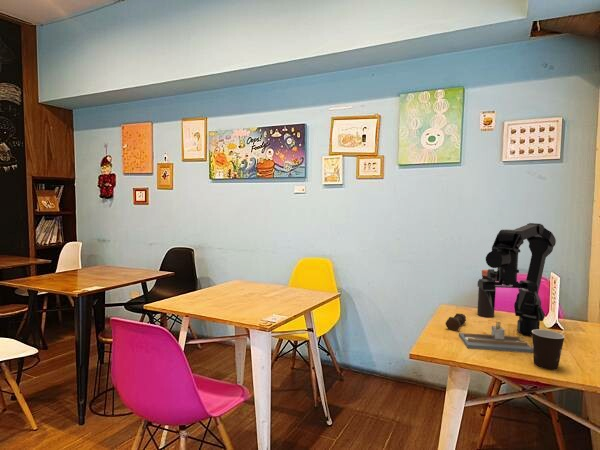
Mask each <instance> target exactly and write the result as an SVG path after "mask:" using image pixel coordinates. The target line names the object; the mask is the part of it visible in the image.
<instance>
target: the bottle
mask: <svg viewBox="0 0 600 450" xmlns="http://www.w3.org/2000/svg"><path fill="white" fill-rule="evenodd" d="M488 270H489V269H482V270H481V279H490V280H492V281H493V278H488V276H487V272H488ZM496 288H497V287H495V288H494V289H493V290H494V291H496V290H497V289H496ZM477 291H478V294H477V312H476V313H477V315H478V316H480V317H483V318H493V317H495V310H496V309H495V308H496V307H495V306H496V305H495V306H494V309H492V308H491V304H490V301H489V298H488V296H487V293H486V292H485V291H484V290H482V289H481V288H480V287H478V290H477Z"/></svg>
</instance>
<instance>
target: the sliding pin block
mask: <svg viewBox="0 0 600 450" xmlns="http://www.w3.org/2000/svg"><path fill="white" fill-rule="evenodd" d="M495 323H496V324H495V326H494V325H492V326H491V331H490V332H491V334H490V335H491V338H492V340H500V341H504V336H505V331H506V330H505V329H504V328H503V327H502V326H501V324H502V323H501V322H500V321H496V322H495Z"/></svg>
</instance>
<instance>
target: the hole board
mask: <svg viewBox="0 0 600 450" xmlns="http://www.w3.org/2000/svg"><path fill="white" fill-rule="evenodd" d="M458 337H459V338H460V340H461V341H462V343H463V344H464V345H465V347H466V348H467V349H473V350H484V351H485V350H486V351H489V350H490V351H502V352H511V353H512V352H513V353H514V352H515V353H525V354H526V353H527V354H529V353H530V354H533V346H532V347H531V345H529V344H528V342H526V341H525V342H519V337H520V336H515V335H504V341H500V340H492V338H491V334H488V333H487V334H484V333H469V332H458Z"/></svg>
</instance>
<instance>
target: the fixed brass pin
mask: <svg viewBox="0 0 600 450" xmlns="http://www.w3.org/2000/svg"><path fill="white" fill-rule="evenodd" d="M518 337H519V342H526V338H525V337H522V336H518Z"/></svg>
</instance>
